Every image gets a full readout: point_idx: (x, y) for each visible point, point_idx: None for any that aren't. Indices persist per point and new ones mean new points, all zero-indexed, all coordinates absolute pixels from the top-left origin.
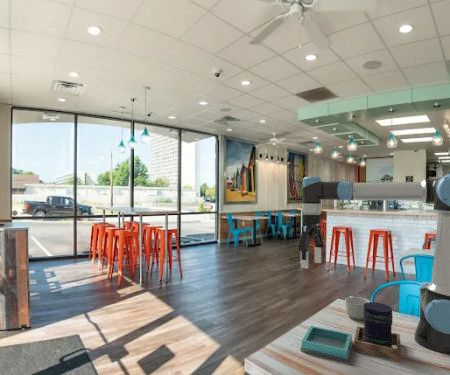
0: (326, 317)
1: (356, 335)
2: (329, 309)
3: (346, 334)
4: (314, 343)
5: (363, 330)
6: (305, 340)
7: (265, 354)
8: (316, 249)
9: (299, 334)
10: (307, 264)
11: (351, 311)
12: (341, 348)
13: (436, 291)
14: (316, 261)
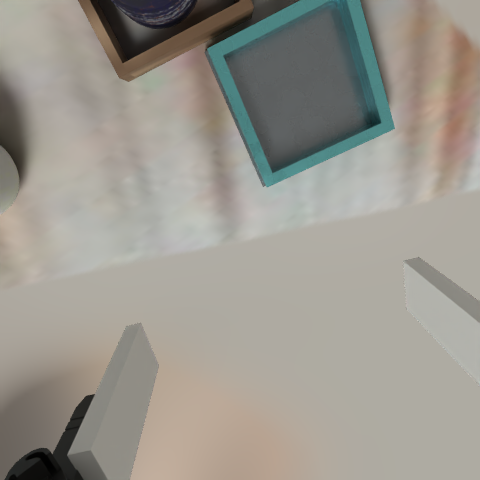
0: (99, 236)
1: (203, 28)
2: (26, 274)
3: (225, 61)
4: (381, 89)
5: (176, 3)
6: (383, 123)
7: (470, 175)
8: (119, 462)
9: (291, 202)
10: (440, 273)
11: (10, 177)
12: (348, 1)
13: None
14: (150, 358)
